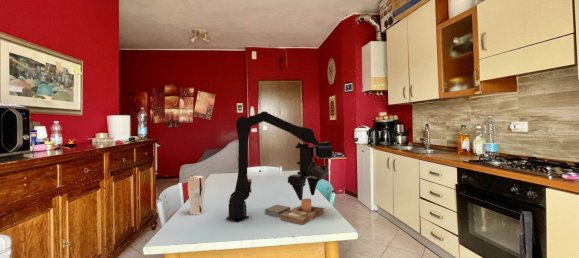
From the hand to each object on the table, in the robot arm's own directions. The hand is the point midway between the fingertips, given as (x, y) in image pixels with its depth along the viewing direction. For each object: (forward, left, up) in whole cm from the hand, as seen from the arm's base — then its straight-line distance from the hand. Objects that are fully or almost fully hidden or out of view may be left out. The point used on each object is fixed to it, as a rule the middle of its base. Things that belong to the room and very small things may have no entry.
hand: (306, 197), depth 113 cm
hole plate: (-3, 0, -7) cm, 8 cm away
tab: (-5, +11, -7) cm, 14 cm away
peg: (0, 0, -7) cm, 7 cm away
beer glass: (-23, +40, -7) cm, 47 cm away
